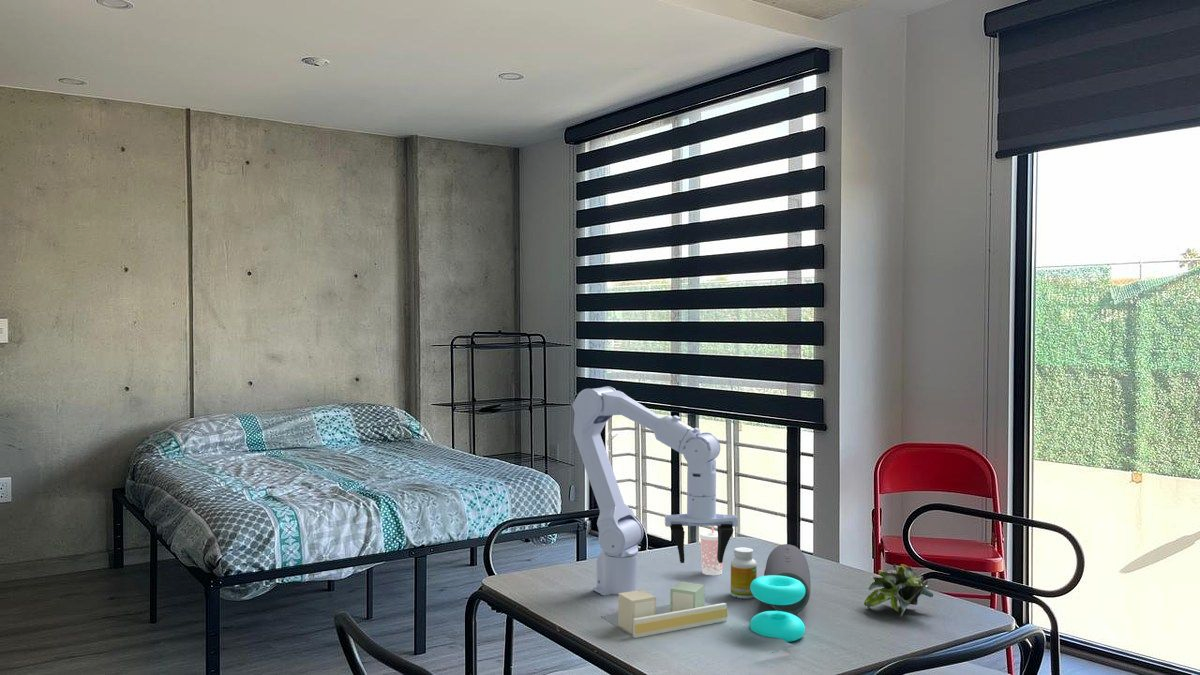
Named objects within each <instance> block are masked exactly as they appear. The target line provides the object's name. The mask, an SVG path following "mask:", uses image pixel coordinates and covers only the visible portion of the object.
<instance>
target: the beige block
mask: <svg viewBox="0 0 1200 675" xmlns="http://www.w3.org/2000/svg"><path fill="white" fill-rule="evenodd" d="M656 601H657V597H656V596H655V595H653V594H651V593H649V592H647V591H645V590H643V589H639V590H637V591H630V592H624V593H619V594H618V609H617V610H618V613H617V614H618V626H620V627H621V628H623V629H625V630H626V631H628V632H629V633H631V634H633V619H634V618H640V617H646V616H652V615H656V607H657V605H656V604H657V603H656Z"/></svg>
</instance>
